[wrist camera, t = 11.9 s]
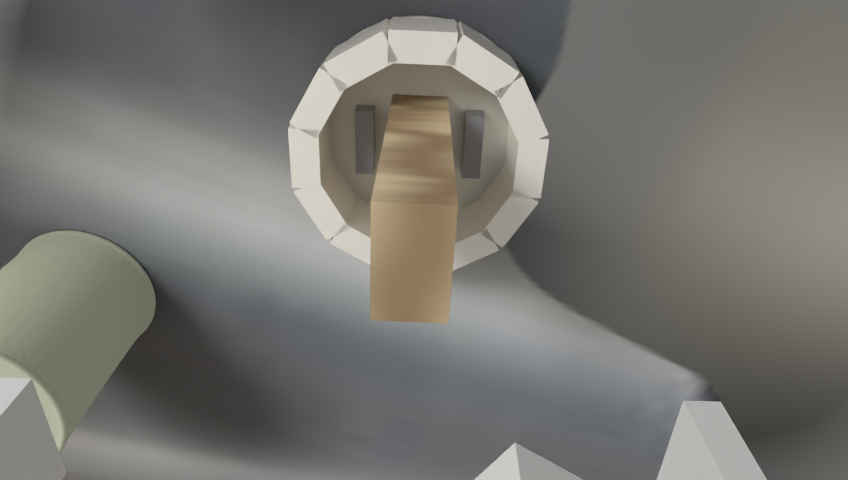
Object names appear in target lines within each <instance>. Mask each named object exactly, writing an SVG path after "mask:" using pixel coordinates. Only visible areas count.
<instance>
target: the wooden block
mask: <svg viewBox="0 0 848 480" xmlns="http://www.w3.org/2000/svg"><path fill="white" fill-rule="evenodd" d="M457 212H458V200H457V189H456V179H455V168H454V157H453V147H452V136H451V126H450V115H449V104H448V97H443V96H422V95H401V94H393V97H392V102H391V107H390V112H389V116H388V121H387V126H386V131H385V135H384V140H383V145H382V150H381V154H380V159H379V164H378V169H377V173H376V178H375V183H374V188H373V192H372V197H371V234H370V320H379V321H402V322H425V323H449V312H450V300H451V287H452V274H453V262H454V249H455V237H456V224H457Z"/></svg>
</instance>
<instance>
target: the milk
mask: <svg viewBox="0 0 848 480" xmlns="http://www.w3.org/2000/svg"><path fill="white" fill-rule="evenodd" d="M475 480H583V479H581V478H579V477H577V476H575V475H574V474H572V473H570V472H568V471H566V470H564V469H563V468H561V467H559V466H557V465H555V464H553V463H552V462H550V461H548V460H546V459H544V458H542V457H541V456H539V455H537V454H535V453H533V452H531V451H529V450H528V449H526V448H524V447H522V446H520V445H518V444H517V443H514V444H513V445H512V446H511V447H510V448H509V449H508V450H506V451H505V452H504V453H503V454H502V455H501V456H500V457H499V458H498V459H497V460H495V461H494V462H493V463H492V464H491V465H490V466H489V467H488V468H487V469H486V470H484V471H483V472H482V473H481V474H480V475H479V476H478V477H477V478H476V479H475Z"/></svg>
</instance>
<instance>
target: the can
mask: <svg viewBox="0 0 848 480" xmlns="http://www.w3.org/2000/svg"><path fill="white" fill-rule="evenodd" d="M155 308H156V297H155V292H154V288H153V285H152V283H151V281H150V278H149V277H148V275H147V273H146V272H145V270H144V269H143V268H142V266H141V265H140V264H139V263H138V262H137V261H136V260H135V259H134V258H133V257H132V256H131V255H130V254H129V253H128V252H126V251H125V250H124V249H122V248H121V247H119V246H118V245H116V244H114V243H112V242H111V241H109V240H107V239H104V238H102V237H99V236H97V235H93V234H90V233H85V232H80V231H70V230H63V231H54V232H50V233H46V234H43V235H40V236H38V237H36V238H34V239H33V240H31V241H30V242H29V243H27V244H26V245H25V246H24V247H23V248H22V250H21V251H20V252H19V254H18V255H17V256H16V257H15V258H14V259H12V260H11V261H10V262H9V263H8V264H6V265H5V266H4V267H3V268H2V269H1V270H0V377H1V378H31V379H32V380H33V383H34V386H35V388H36V391H37V394H38V397H39V399H40V402H41V405H42V407H43V410H44V413H45V416H46V418H47V421H48V424H49V426H50V429H51V432H52V435H53V437H54V440H55V443H56V446H57V448H58V451H59V454H60V453H61V451H62V450H63V448H64V446H65V443H66V441H67V440H68V438H69V437H70V435H71V434H72V432H73V431H74V429H75V427H76V426H77V424H78V423H79V421H80V420H81V418H82V417H83V416H84V414H85V413H86V411H87V410H88V408H89V407H90V405H91V404H92V402H93V401H94V399H95V398H96V397H97V395H98V394H99V392H100V391H101V389H102V388H103V386H104V385H105V383H106V382H107V380H108V379H109V378H110V376H111V375H112V373H113V372H114V370H115V369H116V368H117V366H118V365H119V363H120V362H121V360H122V359H123V358H124V356H125V355H126V353H127V352H128V351H129V349H130V348H131V346H132V345H133V344H134V342H135V341H136V340H137V338H138V337H139V336H140V335H141V334H142V333H143V332H144V331H145V330H146V329H147V328H148V327H149V325H150V323H151V322H152V320H153V317H154V314H155Z"/></svg>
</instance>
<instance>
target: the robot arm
mask: <svg viewBox="0 0 848 480" xmlns="http://www.w3.org/2000/svg"><path fill="white" fill-rule="evenodd" d="M65 474H66V470H65V467H64V465H63V462H62V459H61V456H60V454H59V451H58V448H57V446H56V443H55V440H54V437H53V435H52V432H51V429H50V426H49V424H48V421H47V418H46V416H45V413H44V410H43V407H42V405H41V402H40V399H39V397H38V394H37V391H36V388H35V386H34V383H33V380H32V379H31V378H1V377H0V480H62V479H63V478H64V476H65ZM657 480H767V479H766V478H765V476H764V474H763V472H762V471H761V469H760V468H759V466H758V464H757V462H756V461H755V459H754V457H753V456H752V454H751V452H750V451H749V449H748V447H747V445H746V444H745V442H744V440H743V439H742V437H741V435H740V434H739V432H738V430H737V429H736V427H735V425H734V423H733V422H732V420H731V418H730V417H729V415H728V413H727V412H726V410H725V408H724V407H723V405H722V403H721V402H709V401H683V403H682V406H681V409H680V412H679V415H678V418H677V421H676V424H675V427H674V430H673V433H672V436H671V439H670V442H669V445H668V448H667V451H666V454H665V457H664V460H663V463H662V466H661V469H660V472H659V475H658V478H657Z"/></svg>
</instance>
